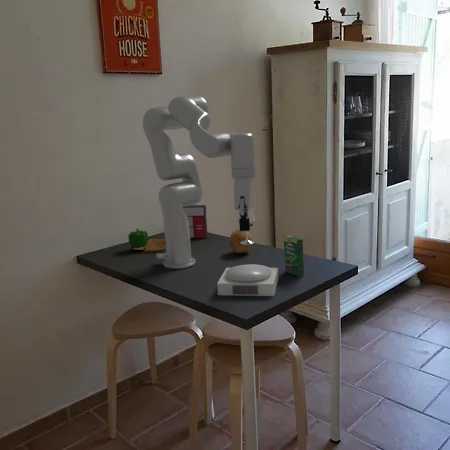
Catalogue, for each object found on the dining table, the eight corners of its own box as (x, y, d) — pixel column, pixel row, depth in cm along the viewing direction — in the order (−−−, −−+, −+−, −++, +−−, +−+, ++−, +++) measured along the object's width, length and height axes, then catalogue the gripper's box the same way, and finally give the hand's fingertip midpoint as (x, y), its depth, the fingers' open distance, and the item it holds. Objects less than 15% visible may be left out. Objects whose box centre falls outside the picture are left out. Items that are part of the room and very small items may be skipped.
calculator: (182, 239, 238) (180, 207, 234) (185, 236, 242) (182, 205, 238) (206, 238, 236) (204, 206, 232) (208, 236, 240) (205, 204, 236)
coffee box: (284, 271, 185) (283, 236, 182) (290, 269, 186) (289, 234, 183) (297, 277, 178) (296, 240, 175) (304, 275, 179) (303, 239, 176)
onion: (258, 252, 209) (257, 229, 207) (238, 258, 204) (237, 233, 201) (244, 248, 217) (243, 225, 214) (224, 253, 211) (223, 229, 209)
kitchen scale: (217, 295, 165) (216, 279, 164) (227, 278, 181) (226, 263, 179) (273, 296, 161) (273, 280, 160) (278, 278, 177) (277, 263, 176)
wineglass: (250, 245, 164) (248, 208, 161) (235, 244, 167) (233, 207, 164) (259, 241, 168) (257, 205, 166) (244, 239, 171) (242, 204, 169)
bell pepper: (133, 247, 229) (130, 225, 226) (151, 246, 227) (148, 225, 225) (127, 252, 221) (124, 230, 218) (145, 252, 219) (143, 229, 217)
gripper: (236, 169, 171) (239, 222, 175) (226, 177, 155) (230, 235, 159) (258, 168, 170) (261, 222, 174) (251, 176, 153) (254, 235, 158)
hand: (246, 227), depth 166 cm, fingers closed on wineglass, 5 cm apart
